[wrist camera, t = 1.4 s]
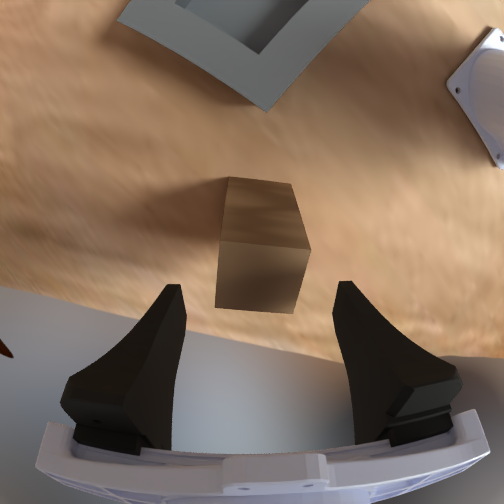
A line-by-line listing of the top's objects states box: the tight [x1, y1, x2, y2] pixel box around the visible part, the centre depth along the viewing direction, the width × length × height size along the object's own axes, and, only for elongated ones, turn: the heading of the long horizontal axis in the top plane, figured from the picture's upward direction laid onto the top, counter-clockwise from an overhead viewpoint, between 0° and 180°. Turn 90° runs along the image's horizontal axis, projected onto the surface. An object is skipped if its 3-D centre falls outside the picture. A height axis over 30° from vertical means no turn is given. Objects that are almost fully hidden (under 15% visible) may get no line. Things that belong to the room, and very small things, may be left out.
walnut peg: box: [215, 177, 311, 314], centre depth 19 cm, size 4×4×8 cm
